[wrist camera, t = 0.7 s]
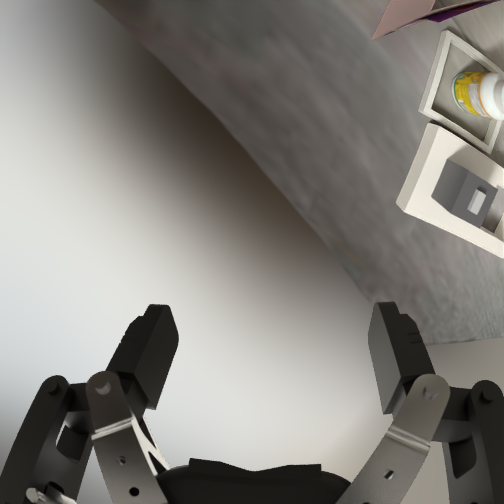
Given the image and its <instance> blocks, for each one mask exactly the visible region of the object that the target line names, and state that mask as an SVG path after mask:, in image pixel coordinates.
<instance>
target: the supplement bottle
mask: <svg viewBox="0 0 504 504" xmlns="http://www.w3.org/2000/svg"><path fill="white" fill-rule="evenodd" d="M452 95H453V98H454V100H455V102H456V104H457V105H458V107H459V108H460V109H462V110H463V111H465V112H467V113H470V114H475V115H479V116H483V117H487V118H491V119H495V120H500V121H502V120H504V76H502V75H501V74H498V73H494V72H462V73H460V74H458V75H457V76H456V77H455V78H454V80H453V83H452Z"/></svg>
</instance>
